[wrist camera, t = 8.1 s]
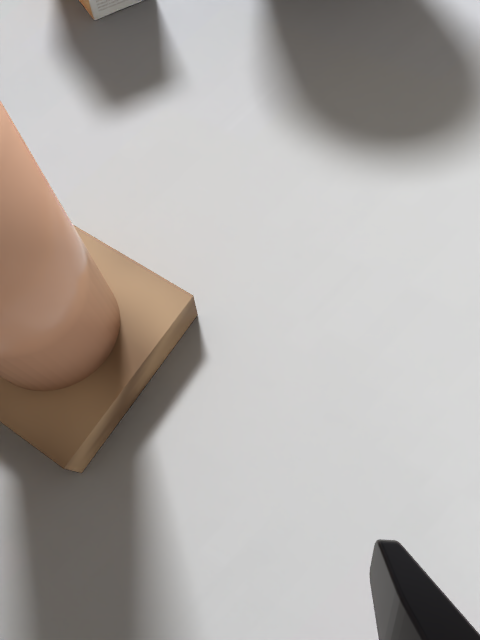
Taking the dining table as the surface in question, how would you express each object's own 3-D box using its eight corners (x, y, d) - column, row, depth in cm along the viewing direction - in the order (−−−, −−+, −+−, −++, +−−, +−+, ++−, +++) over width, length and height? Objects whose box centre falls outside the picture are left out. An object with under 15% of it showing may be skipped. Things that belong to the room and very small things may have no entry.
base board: (81, 472, 23) (63, 468, 20) (-62, 367, 25) (-94, 352, 22) (197, 315, 26) (193, 295, 24) (61, 233, 28) (45, 208, 26)
